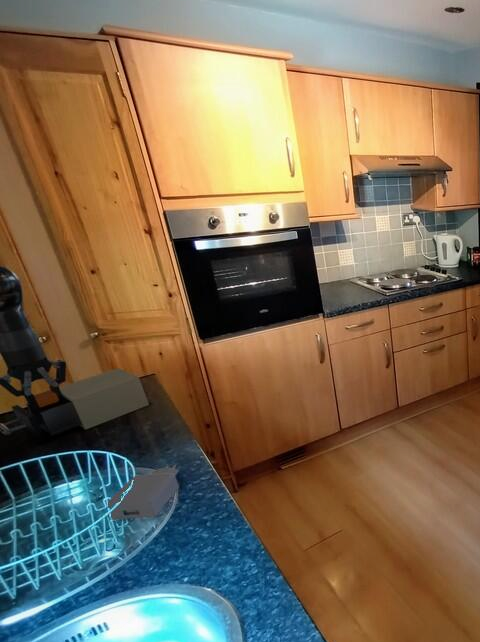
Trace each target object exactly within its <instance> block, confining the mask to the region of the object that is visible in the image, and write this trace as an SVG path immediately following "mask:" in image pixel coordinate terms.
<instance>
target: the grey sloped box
mask: <svg viewBox="0 0 480 642" xmlns="http://www.w3.org/2000/svg"><path fill="white" fill-rule="evenodd" d="M59 389H60V391H61V393H62V396H63V397H64V398H66V399H68V400H70V401H71V402H72V403H73V405H74V407H75V409H76V411H77V414H78V416H79V418H80V420H81V423H82V425H80V426H79V427H80V428H82V429H83V430H88V429H91V428H94V427H96V426H99V425H101V424H104V423H106V422H109V421H111V420H114V419H117V418H119V417H122V416H124V415H127V414H129V413H131V412H134V411H137V410H139V409H142V408H145V407H148V406H149V405H150V403H149V401H148V398H147V395H146V393H145V390H144V387H143V385H142V382H141V380H140V377H139V376H137V375H134V374H132V373H130V372H128V371H125V370H123V369H122V368H115V369H112V370H108V371H105V372H101V373H98V374H96V375H93V376H90V377H87V378H83V379H81V380H78V381H74V382H71V383H68V384H64V385H61V386H59Z"/></svg>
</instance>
